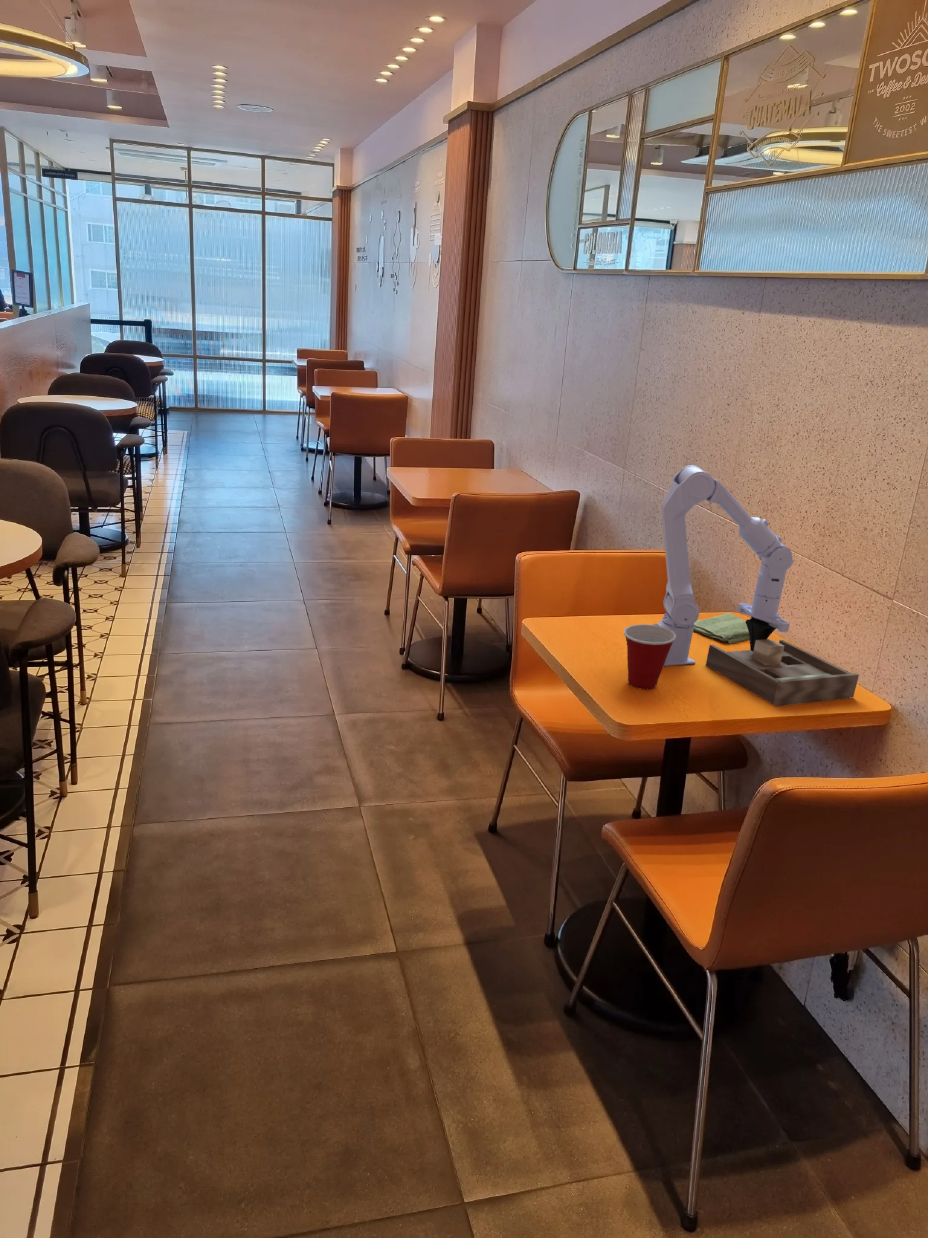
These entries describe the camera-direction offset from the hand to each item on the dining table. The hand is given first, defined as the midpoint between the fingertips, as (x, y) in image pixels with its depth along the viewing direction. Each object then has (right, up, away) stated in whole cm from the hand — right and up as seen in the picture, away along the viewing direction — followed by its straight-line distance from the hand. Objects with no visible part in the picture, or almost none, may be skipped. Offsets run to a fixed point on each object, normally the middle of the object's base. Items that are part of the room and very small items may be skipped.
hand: (755, 650), depth 207 cm
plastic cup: (-30, -7, -16) cm, 35 cm away
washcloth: (0, +3, +25) cm, 25 cm away
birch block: (+1, -2, -3) cm, 4 cm away
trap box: (+3, -6, -6) cm, 9 cm away
